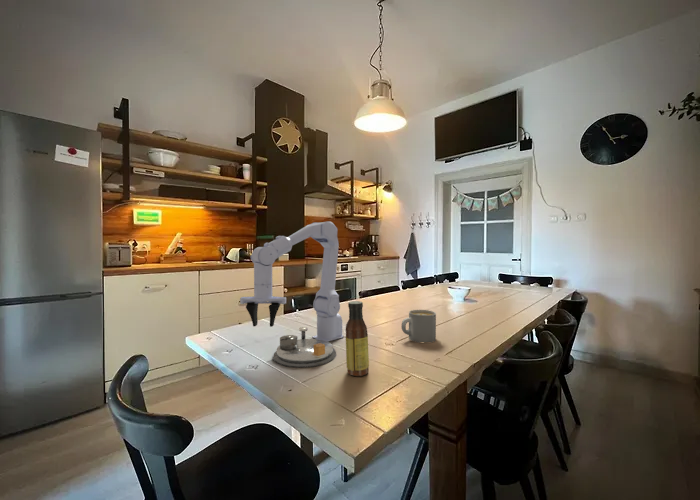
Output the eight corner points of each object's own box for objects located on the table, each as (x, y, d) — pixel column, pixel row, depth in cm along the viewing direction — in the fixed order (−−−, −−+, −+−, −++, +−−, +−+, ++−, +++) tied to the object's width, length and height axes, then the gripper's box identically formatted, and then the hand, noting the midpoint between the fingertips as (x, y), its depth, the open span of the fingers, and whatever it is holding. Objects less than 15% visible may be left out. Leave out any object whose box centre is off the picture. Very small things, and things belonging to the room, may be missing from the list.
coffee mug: (429, 334, 122) (430, 309, 122) (439, 342, 112) (440, 315, 112) (397, 335, 121) (397, 310, 121) (404, 343, 111) (404, 316, 111)
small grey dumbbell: (304, 340, 114) (304, 326, 114) (309, 342, 112) (309, 328, 112) (297, 342, 112) (297, 328, 112) (302, 344, 109) (302, 330, 109)
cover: (291, 343, 104) (291, 332, 104) (300, 347, 100) (300, 336, 100) (276, 347, 100) (276, 336, 100) (285, 351, 96) (285, 340, 96)
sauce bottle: (371, 369, 88) (371, 300, 88) (365, 379, 82) (365, 305, 82) (349, 366, 90) (349, 299, 90) (342, 375, 84) (342, 303, 84)
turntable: (311, 339, 112) (311, 328, 112) (344, 352, 99) (344, 339, 99) (266, 351, 100) (266, 338, 100) (297, 368, 87) (296, 353, 87)
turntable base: (312, 341, 114) (312, 339, 114) (348, 355, 99) (348, 353, 99) (262, 354, 100) (262, 352, 100) (296, 373, 86) (296, 371, 85)
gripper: (236, 285, 96) (236, 328, 96) (282, 285, 95) (282, 329, 96) (244, 282, 103) (245, 323, 103) (287, 282, 102) (287, 323, 103)
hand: (263, 325), depth 100 cm, fingers open, 5 cm apart
